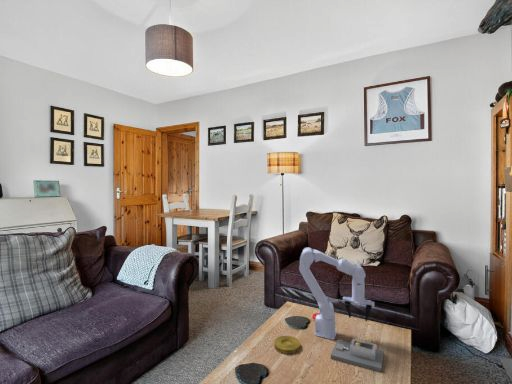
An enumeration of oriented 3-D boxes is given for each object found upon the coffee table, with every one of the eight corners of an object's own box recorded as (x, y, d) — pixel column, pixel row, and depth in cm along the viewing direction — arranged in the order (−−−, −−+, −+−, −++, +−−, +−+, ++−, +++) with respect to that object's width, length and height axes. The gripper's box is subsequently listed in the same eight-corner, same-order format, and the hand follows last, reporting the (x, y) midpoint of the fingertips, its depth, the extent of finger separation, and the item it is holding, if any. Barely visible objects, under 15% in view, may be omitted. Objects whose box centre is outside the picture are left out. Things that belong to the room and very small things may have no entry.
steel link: (350, 354, 123) (350, 345, 123) (352, 347, 129) (352, 338, 129) (375, 361, 119) (375, 351, 119) (376, 353, 124) (376, 344, 124)
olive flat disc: (305, 351, 129) (305, 346, 129) (281, 357, 125) (281, 352, 125) (292, 338, 140) (292, 333, 140) (270, 343, 136) (270, 338, 136)
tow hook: (312, 314, 166) (312, 321, 157) (312, 292, 166) (312, 297, 157) (326, 315, 165) (328, 322, 156) (327, 293, 165) (328, 298, 156)
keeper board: (330, 358, 123) (330, 345, 123) (337, 342, 136) (337, 330, 136) (381, 372, 114) (381, 358, 114) (383, 353, 126) (383, 341, 126)
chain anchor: (335, 349, 127) (335, 347, 127) (337, 345, 131) (337, 342, 131) (347, 352, 125) (347, 350, 125) (349, 347, 128) (349, 345, 128)
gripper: (341, 291, 139) (341, 318, 140) (373, 296, 133) (373, 325, 133) (344, 286, 146) (344, 312, 146) (374, 291, 139) (374, 318, 139)
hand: (358, 318), depth 140 cm, fingers open, 7 cm apart
